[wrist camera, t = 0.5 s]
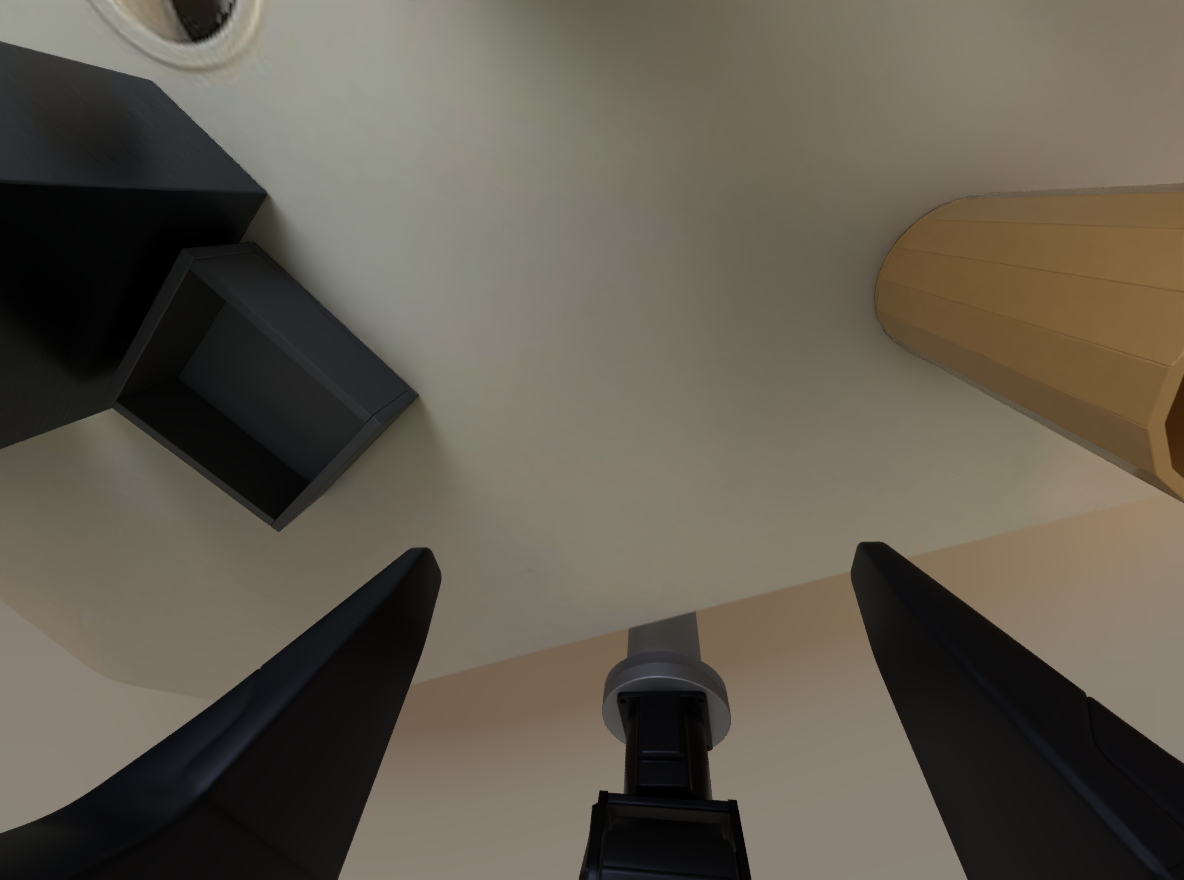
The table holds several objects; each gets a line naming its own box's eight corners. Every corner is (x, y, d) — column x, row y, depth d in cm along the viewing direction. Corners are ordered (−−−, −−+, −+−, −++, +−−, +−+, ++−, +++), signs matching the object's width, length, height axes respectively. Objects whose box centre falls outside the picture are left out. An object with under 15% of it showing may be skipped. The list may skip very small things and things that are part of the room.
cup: (1026, 342, 21) (1493, 506, 9) (868, 362, 22) (1108, 531, 10) (1063, 178, 18) (1799, 123, 6) (880, 212, 19) (1226, 217, 8)
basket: (419, 395, 26) (382, 425, 22) (322, 494, 30) (278, 532, 26) (254, 241, 23) (181, 247, 19) (172, 374, 27) (100, 399, 23)
